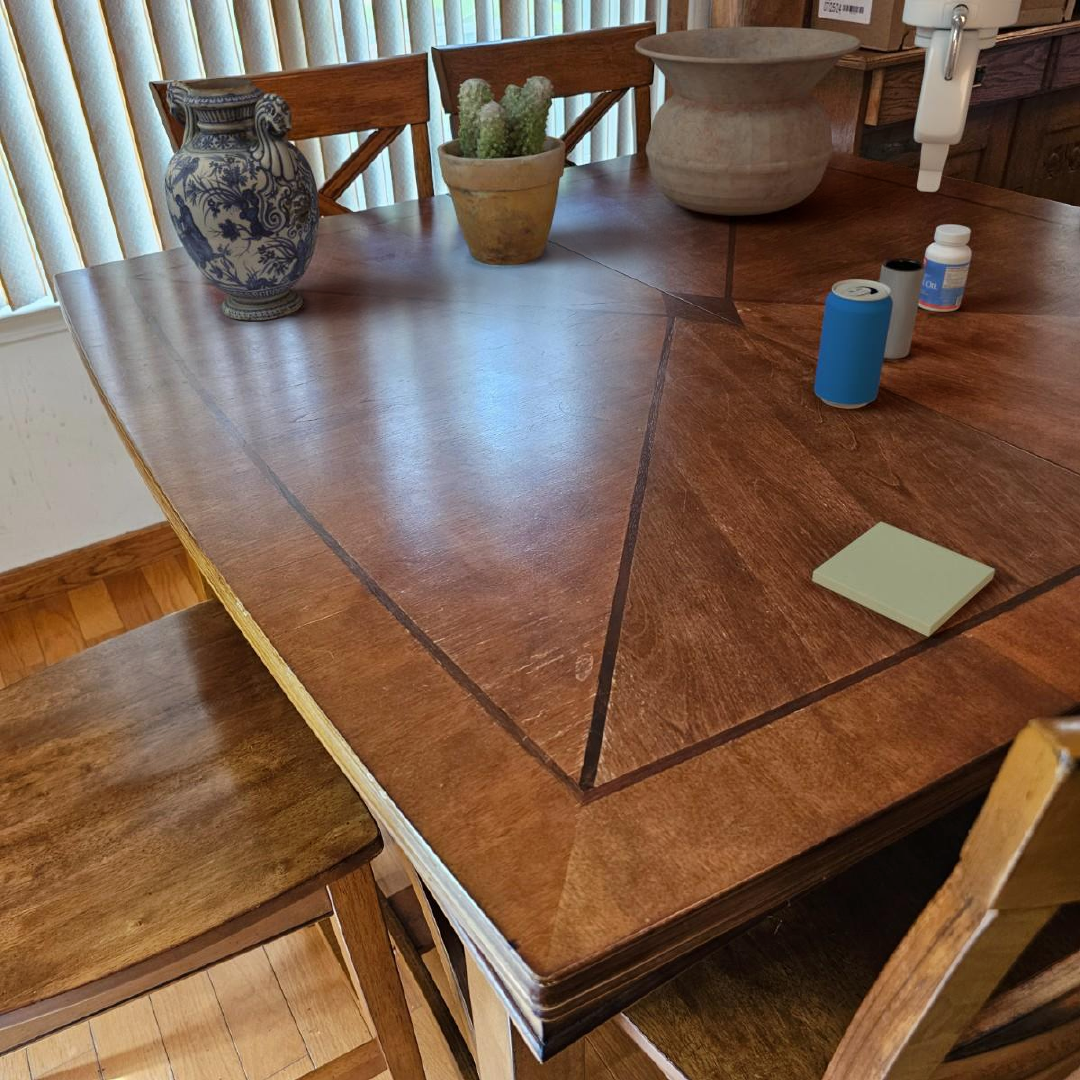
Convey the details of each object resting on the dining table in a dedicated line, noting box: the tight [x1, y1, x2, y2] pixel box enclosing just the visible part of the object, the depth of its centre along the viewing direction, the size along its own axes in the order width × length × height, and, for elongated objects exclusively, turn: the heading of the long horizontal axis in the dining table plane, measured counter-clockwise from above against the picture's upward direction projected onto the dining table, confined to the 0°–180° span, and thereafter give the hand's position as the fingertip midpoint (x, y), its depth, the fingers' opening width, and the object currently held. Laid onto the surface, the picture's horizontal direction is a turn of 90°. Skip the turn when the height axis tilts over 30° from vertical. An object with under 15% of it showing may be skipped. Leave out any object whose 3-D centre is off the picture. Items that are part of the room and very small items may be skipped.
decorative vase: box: [164, 77, 320, 322], centre depth 126 cm, size 21×19×28 cm
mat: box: [811, 521, 996, 638], centre depth 78 cm, size 10×10×1 cm
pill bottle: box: [918, 223, 973, 313], centre depth 123 cm, size 6×5×10 cm
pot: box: [634, 26, 862, 216], centre depth 158 cm, size 34×34×25 cm
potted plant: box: [436, 75, 566, 266], centre depth 142 cm, size 18×19×25 cm
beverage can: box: [813, 278, 893, 410], centre depth 101 cm, size 6×6×12 cm
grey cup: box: [878, 257, 925, 360], centre depth 112 cm, size 4×4×10 cm
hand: (929, 175), depth 88 cm, fingers open, 8 cm apart
